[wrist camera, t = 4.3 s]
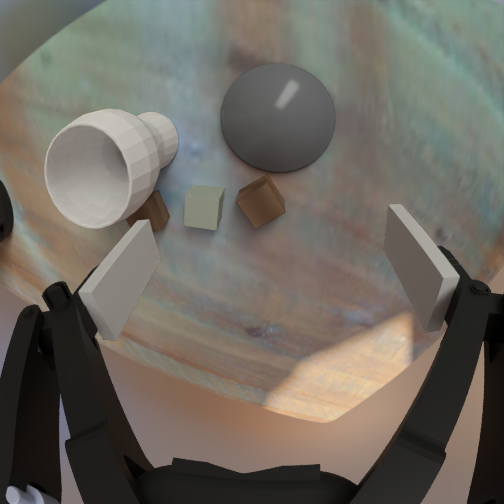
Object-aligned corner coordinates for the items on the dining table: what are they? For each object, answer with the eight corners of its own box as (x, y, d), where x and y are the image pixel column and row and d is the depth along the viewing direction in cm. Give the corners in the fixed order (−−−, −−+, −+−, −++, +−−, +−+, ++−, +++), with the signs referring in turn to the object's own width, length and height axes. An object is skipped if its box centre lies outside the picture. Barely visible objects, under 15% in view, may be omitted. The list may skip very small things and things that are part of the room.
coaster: (230, 175, 35) (229, 177, 35) (214, 71, 29) (213, 71, 28) (337, 166, 34) (338, 168, 33) (328, 61, 27) (330, 60, 26)
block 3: (257, 214, 38) (255, 228, 35) (240, 189, 36) (236, 201, 33) (284, 200, 37) (285, 212, 33) (267, 173, 35) (266, 184, 32)
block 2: (192, 212, 38) (184, 225, 35) (193, 184, 36) (185, 194, 33) (221, 216, 38) (216, 230, 35) (224, 187, 36) (219, 199, 33)
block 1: (146, 224, 40) (135, 237, 36) (134, 199, 38) (122, 210, 34) (170, 216, 39) (160, 229, 36) (158, 190, 37) (147, 201, 34)
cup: (180, 90, 30) (119, 96, 17) (198, 172, 35) (154, 226, 23) (106, 114, 32) (27, 139, 19) (125, 187, 37) (63, 241, 24)
